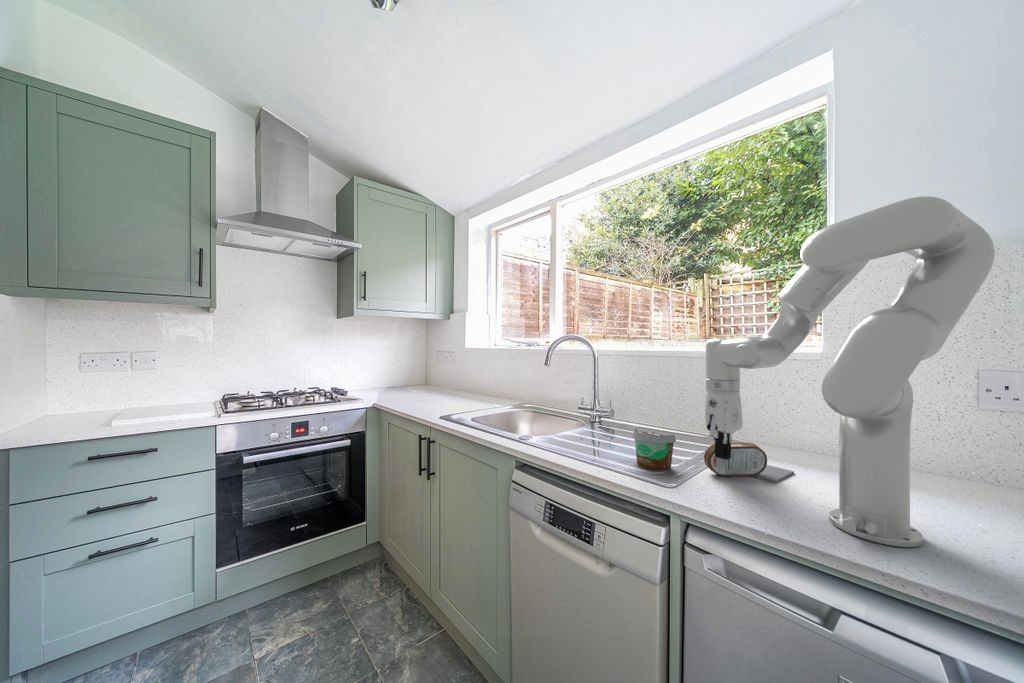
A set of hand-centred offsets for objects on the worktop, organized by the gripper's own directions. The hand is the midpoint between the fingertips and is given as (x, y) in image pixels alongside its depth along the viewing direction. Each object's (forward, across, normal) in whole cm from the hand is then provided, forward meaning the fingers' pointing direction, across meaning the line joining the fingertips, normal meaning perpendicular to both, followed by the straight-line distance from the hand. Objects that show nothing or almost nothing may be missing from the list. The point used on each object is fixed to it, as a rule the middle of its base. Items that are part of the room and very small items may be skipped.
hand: (722, 457), depth 93 cm
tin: (+6, +7, 0) cm, 9 cm away
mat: (+6, +16, 0) cm, 17 cm away
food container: (+6, -6, +17) cm, 19 cm away
